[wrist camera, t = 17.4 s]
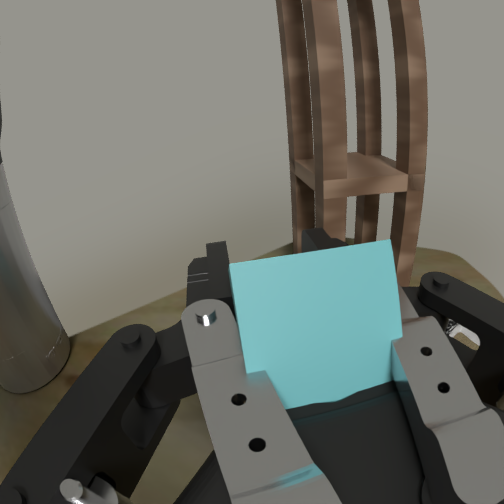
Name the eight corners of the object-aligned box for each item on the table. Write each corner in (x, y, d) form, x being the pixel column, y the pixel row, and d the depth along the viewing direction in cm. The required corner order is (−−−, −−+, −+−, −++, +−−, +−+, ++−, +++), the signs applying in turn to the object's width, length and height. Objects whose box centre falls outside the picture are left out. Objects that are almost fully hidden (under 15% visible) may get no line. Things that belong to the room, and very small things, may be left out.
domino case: (256, 428, 5) (228, 264, 5) (232, 310, 27) (227, 275, 27) (404, 388, 5) (390, 239, 5) (266, 304, 27) (261, 270, 27)
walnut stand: (319, 335, 24) (294, -94, 9) (293, 282, 31) (269, -50, 16) (402, 314, 25) (402, -69, 10) (364, 269, 32) (355, -40, 17)
